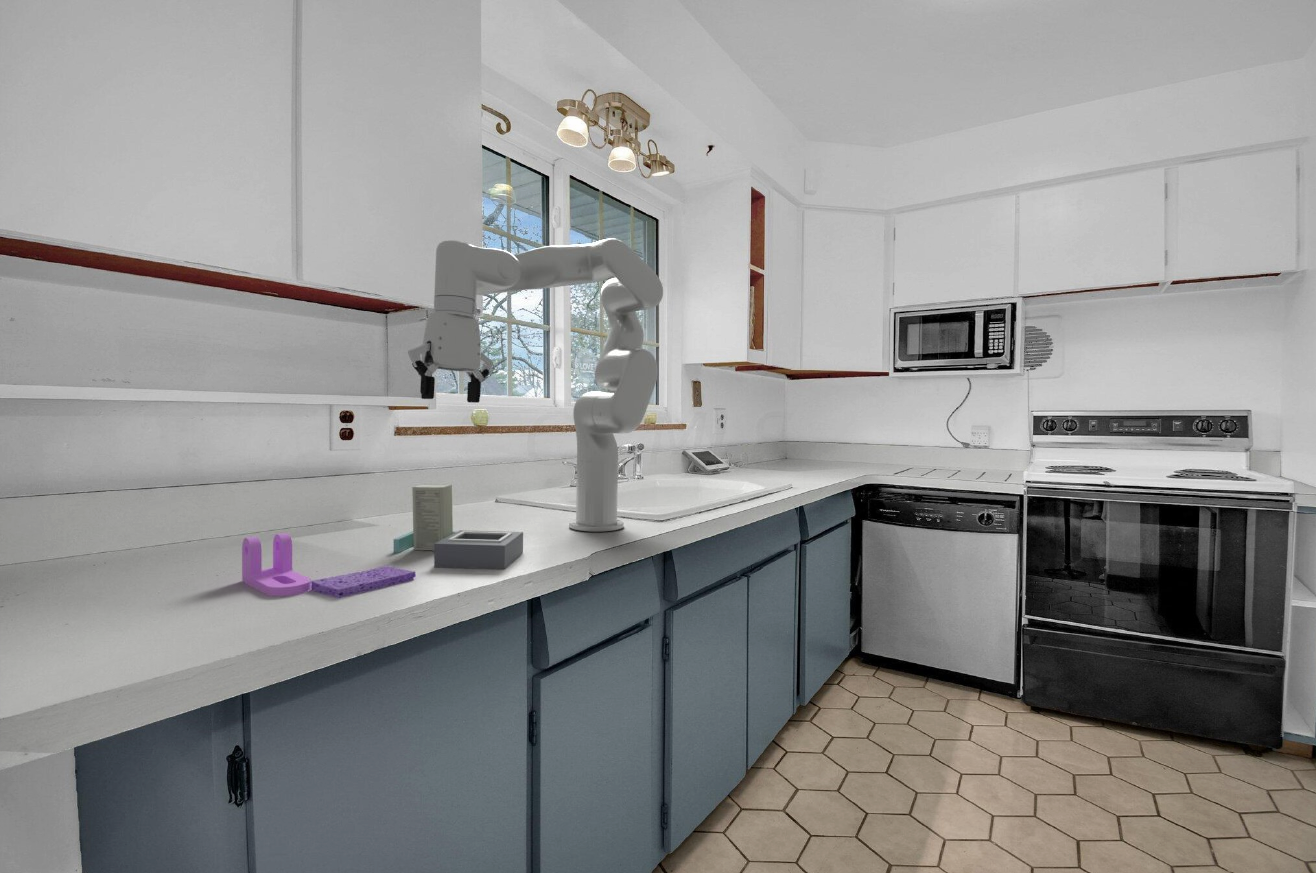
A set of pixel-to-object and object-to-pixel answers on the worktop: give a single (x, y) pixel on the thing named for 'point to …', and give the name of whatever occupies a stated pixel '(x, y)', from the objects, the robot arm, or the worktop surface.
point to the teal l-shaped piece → (405, 542)
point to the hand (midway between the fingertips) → (451, 400)
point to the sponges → (361, 581)
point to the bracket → (277, 578)
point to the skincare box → (431, 515)
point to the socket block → (478, 549)
